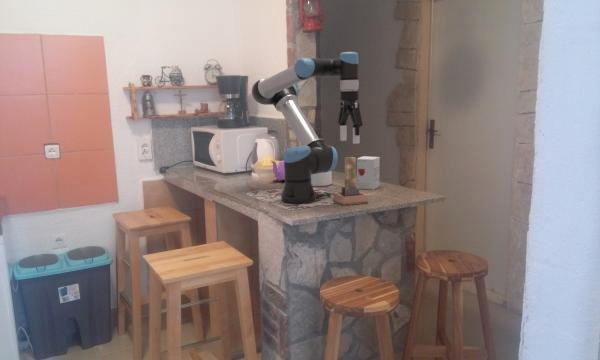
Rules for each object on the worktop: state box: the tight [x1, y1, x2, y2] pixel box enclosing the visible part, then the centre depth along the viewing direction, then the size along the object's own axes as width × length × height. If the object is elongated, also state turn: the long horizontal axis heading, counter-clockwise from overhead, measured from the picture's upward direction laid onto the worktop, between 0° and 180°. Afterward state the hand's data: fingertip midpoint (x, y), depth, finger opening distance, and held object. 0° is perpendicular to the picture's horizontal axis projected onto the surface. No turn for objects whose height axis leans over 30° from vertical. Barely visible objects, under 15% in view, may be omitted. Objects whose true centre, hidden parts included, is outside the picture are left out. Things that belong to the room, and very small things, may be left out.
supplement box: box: [356, 155, 381, 191], centre depth 236 cm, size 9×9×15 cm
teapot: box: [270, 160, 285, 182], centre depth 260 cm, size 20×14×12 cm
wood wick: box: [344, 156, 357, 197], centre depth 206 cm, size 4×2×18 cm, turn 107°
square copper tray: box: [333, 186, 369, 206], centre depth 207 cm, size 11×11×6 cm
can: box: [311, 171, 333, 187], centre depth 247 cm, size 12×12×20 cm
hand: (349, 142), depth 203 cm, fingers open, 13 cm apart
